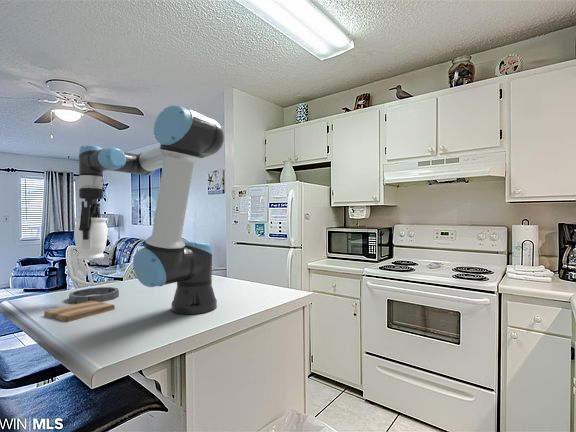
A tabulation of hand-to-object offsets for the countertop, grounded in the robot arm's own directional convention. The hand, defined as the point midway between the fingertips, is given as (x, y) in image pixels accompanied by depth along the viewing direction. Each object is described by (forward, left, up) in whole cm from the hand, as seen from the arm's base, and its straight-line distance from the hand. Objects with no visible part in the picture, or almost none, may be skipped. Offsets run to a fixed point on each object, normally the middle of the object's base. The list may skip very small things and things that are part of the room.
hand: (91, 247), depth 118 cm
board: (-9, +9, -20) cm, 24 cm away
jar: (0, 0, -4) cm, 4 cm away
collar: (+6, -5, -20) cm, 22 cm away
